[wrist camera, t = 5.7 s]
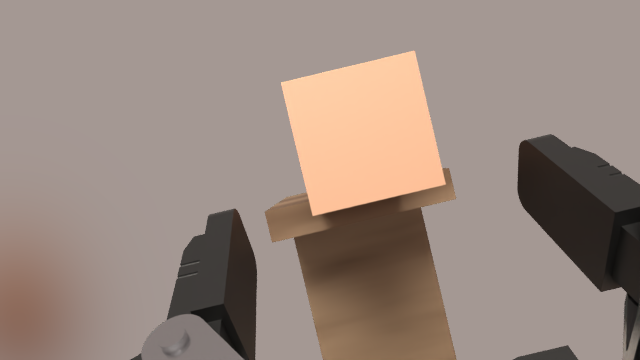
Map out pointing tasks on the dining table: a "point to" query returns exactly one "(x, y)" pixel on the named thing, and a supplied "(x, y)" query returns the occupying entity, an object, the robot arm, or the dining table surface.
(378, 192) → the peach rectangular bar
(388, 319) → the walnut stand
